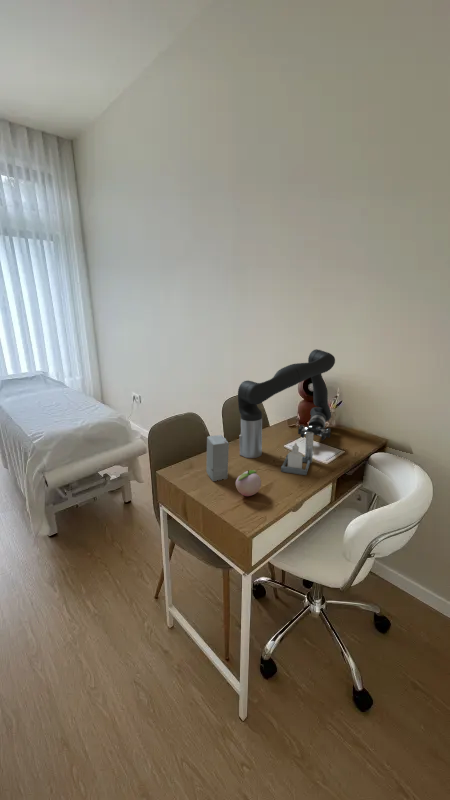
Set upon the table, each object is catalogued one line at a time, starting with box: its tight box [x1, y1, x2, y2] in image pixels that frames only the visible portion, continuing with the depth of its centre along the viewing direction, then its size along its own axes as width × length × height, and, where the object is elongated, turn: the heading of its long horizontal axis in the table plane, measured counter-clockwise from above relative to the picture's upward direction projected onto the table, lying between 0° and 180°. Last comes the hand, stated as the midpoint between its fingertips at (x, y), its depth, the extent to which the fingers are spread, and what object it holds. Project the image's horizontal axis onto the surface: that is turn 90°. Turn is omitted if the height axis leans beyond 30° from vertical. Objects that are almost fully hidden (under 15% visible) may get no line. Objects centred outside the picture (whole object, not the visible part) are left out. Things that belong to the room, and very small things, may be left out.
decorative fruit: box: [235, 469, 262, 497], centre depth 120 cm, size 9×8×10 cm
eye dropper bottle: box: [287, 442, 304, 469], centre depth 137 cm, size 4×6×12 cm
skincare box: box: [206, 434, 230, 482], centre depth 134 cm, size 8×7×16 cm
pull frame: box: [280, 432, 315, 476], centre depth 140 cm, size 11×14×13 cm
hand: (312, 437), depth 152 cm, fingers open, 8 cm apart
